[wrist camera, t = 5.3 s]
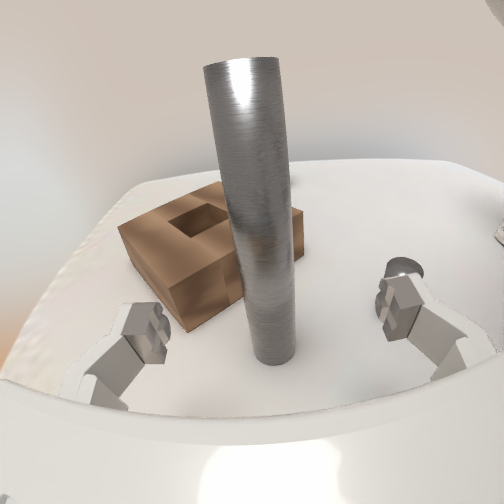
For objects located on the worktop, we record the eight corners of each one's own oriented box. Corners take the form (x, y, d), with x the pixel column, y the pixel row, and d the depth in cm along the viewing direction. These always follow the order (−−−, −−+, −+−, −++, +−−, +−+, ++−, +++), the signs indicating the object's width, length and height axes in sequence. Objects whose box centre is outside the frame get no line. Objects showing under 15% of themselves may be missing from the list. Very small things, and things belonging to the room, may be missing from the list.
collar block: (224, 215, 37) (218, 181, 34) (303, 254, 28) (303, 211, 25) (131, 262, 31) (117, 226, 28) (187, 332, 21) (168, 288, 18)
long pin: (275, 326, 21) (245, 64, 11) (303, 347, 19) (294, 57, 9) (246, 348, 20) (189, 71, 9) (273, 372, 18) (233, 58, 7)
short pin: (386, 293, 22) (396, 252, 19) (414, 308, 20) (428, 267, 17) (369, 313, 21) (379, 271, 18) (399, 330, 19) (415, 289, 16)
